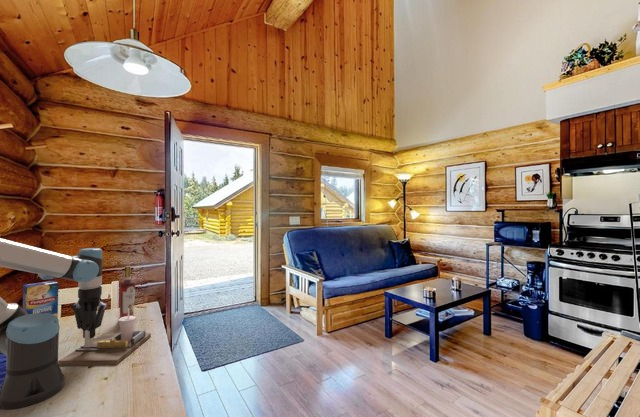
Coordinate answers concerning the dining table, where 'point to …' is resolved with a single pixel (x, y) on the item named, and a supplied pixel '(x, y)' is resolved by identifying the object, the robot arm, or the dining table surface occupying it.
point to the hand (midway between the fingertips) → (89, 345)
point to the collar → (136, 336)
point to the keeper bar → (112, 344)
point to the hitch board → (100, 353)
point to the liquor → (127, 294)
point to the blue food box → (41, 298)
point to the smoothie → (127, 327)
